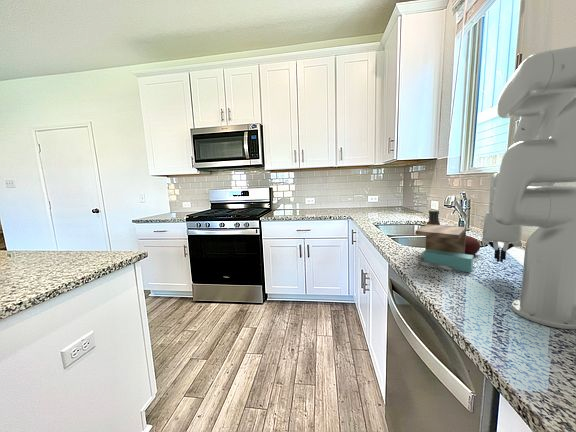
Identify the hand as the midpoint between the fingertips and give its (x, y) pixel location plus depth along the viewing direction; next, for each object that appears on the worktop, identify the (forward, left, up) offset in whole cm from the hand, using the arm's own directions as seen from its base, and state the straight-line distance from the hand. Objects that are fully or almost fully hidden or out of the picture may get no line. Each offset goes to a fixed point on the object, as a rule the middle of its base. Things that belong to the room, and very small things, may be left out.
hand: (499, 261), depth 88 cm
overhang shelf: (+18, -1, -5) cm, 19 cm away
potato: (+13, -24, -5) cm, 28 cm away
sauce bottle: (+24, -18, -5) cm, 31 cm away
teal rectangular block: (+16, -1, -5) cm, 17 cm away
